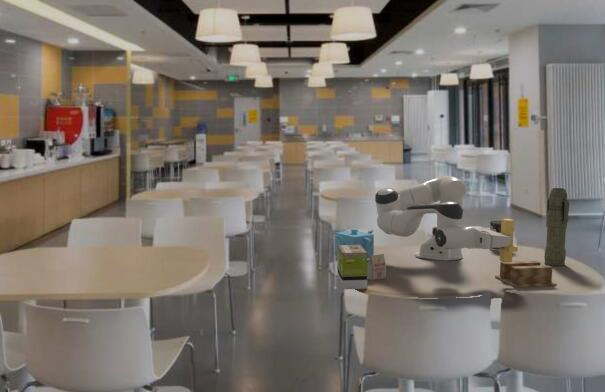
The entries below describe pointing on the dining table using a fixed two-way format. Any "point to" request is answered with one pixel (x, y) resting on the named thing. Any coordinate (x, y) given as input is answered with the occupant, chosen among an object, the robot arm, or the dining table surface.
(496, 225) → the coffee can
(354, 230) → the teakettle
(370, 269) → the pink milk carton
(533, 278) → the rack
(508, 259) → the yellow tall bar
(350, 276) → the tea box
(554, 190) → the thermos
